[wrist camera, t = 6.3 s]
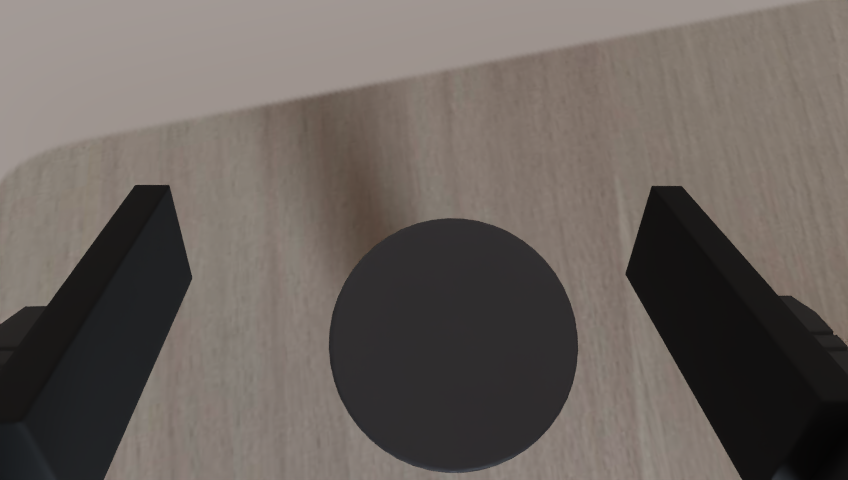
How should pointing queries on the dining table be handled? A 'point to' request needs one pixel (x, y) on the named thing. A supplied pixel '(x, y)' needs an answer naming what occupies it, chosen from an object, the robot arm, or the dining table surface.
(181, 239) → the robot arm
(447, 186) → the dining table surface
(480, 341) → the grey cylinder
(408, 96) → the dining table surface
